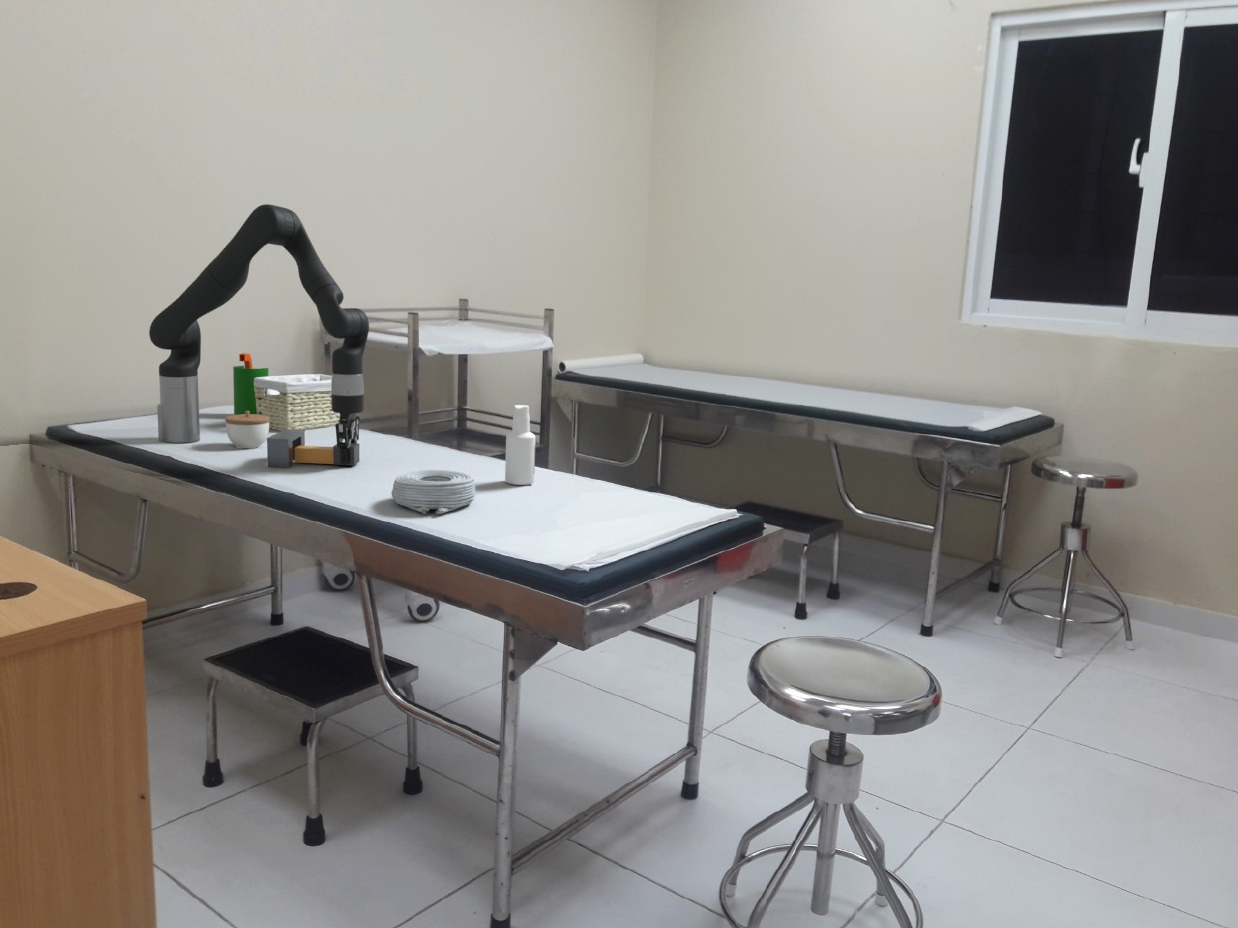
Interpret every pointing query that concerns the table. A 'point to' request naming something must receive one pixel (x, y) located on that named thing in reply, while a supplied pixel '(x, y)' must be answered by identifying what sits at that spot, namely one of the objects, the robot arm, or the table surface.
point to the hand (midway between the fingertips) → (348, 461)
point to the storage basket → (295, 401)
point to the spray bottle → (520, 449)
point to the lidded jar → (247, 429)
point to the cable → (434, 490)
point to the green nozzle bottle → (246, 385)
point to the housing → (284, 447)
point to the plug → (325, 454)
